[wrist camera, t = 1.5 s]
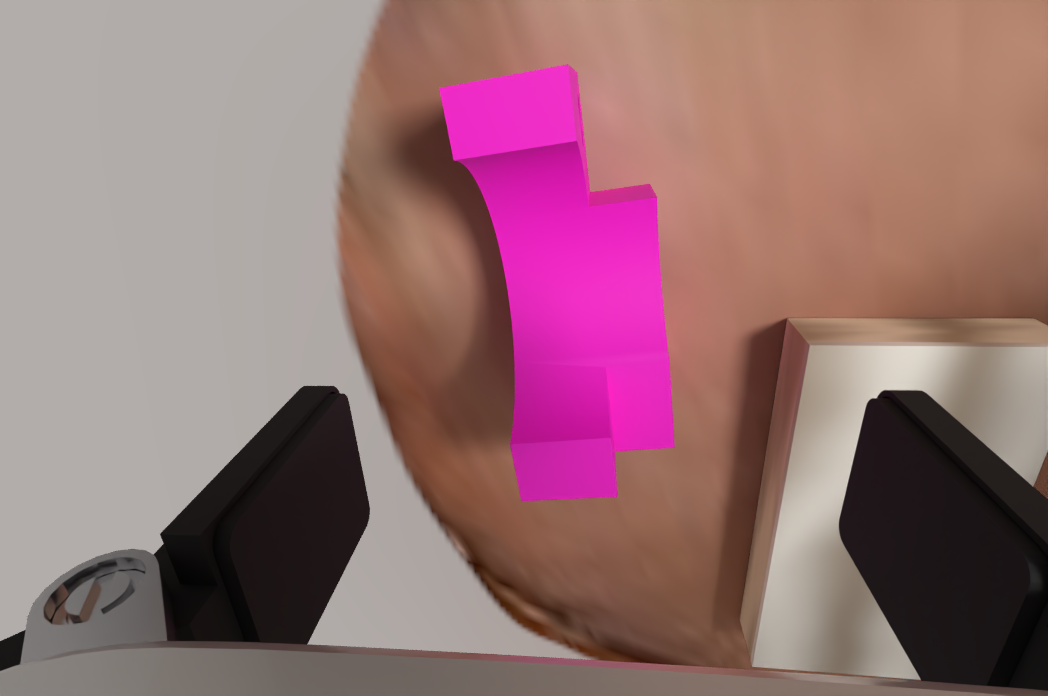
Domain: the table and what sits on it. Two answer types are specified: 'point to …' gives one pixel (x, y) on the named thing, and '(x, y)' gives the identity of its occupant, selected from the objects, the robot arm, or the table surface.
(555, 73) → the toy block
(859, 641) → the plinth
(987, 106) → the table surface
